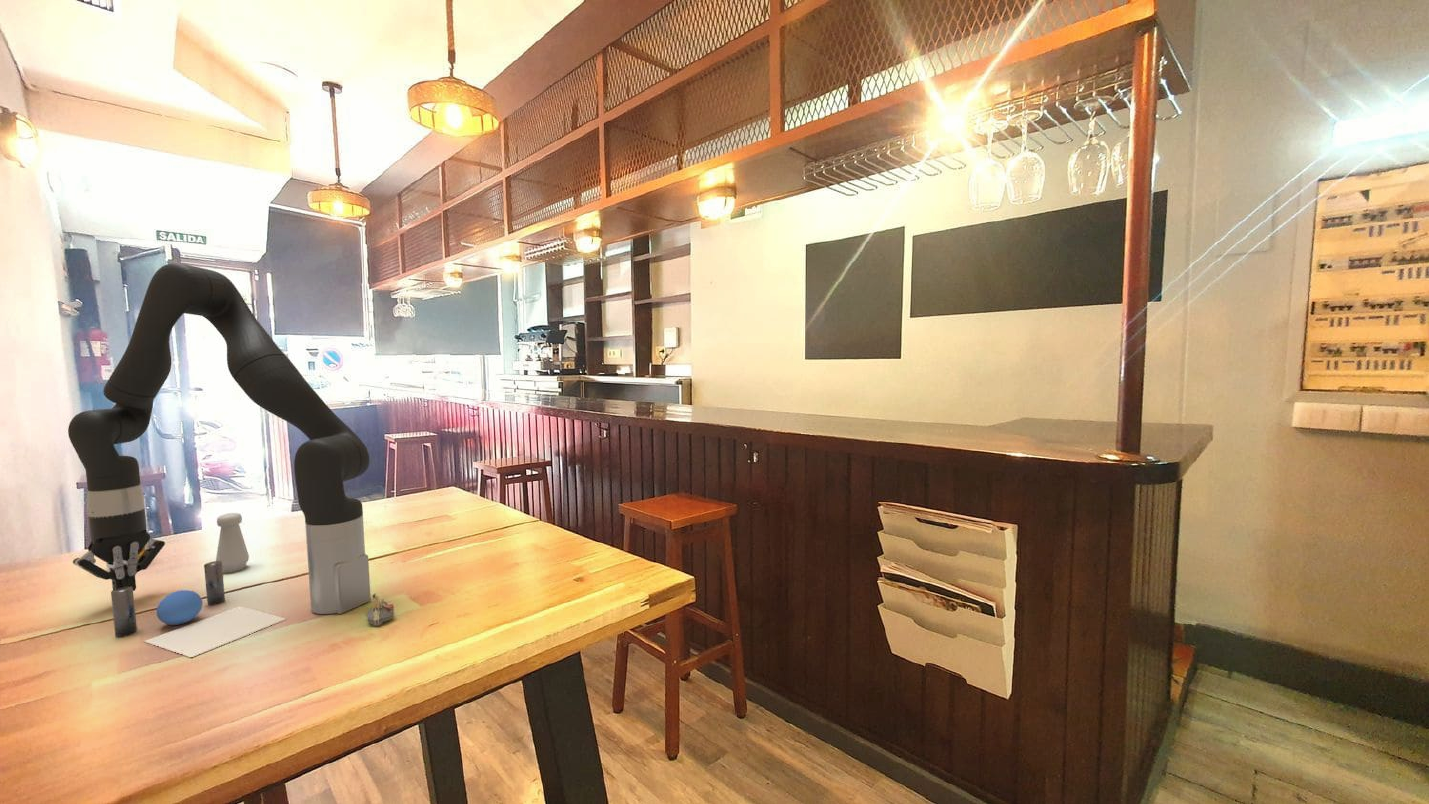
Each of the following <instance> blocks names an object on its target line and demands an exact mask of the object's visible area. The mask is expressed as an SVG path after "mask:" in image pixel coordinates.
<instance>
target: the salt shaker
mask: <svg viewBox="0 0 1429 804" xmlns="http://www.w3.org/2000/svg"><path fill="white" fill-rule="evenodd" d="M242 517H243V516H242V514H240V513H238V512H230V513H225V514H221V515H219V516H218V517H217V518H216V525H217V526H218V527H220V529H219V530H220V532H219V538H218V544H217V551H216V558H215V561H222V569H223V574H230V573H231V574H232V573H236V572H239V571H243V570H244V569H245V568H246V566H247V564H248V561H249V559H250V554H249V552H248V549H247V546H246V542H245V539H244V537H243V536H244V535H243V533H242V530H241V525H240V524H241V523H242V521H243V518H242Z"/></svg>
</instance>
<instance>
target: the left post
mask: <svg viewBox="0 0 1429 804" xmlns="http://www.w3.org/2000/svg"><path fill="white" fill-rule="evenodd" d="M110 595H111V605H112V616H113V617H112V618H113V627H114V633H115V634H114V636H115V637H116V638H124V637H128V636H131V635H134V634H135V633H137V631H138V629H137V628H138V626H137V618H136V608H135V599H134V598H135V597H134V596H135V595H134V591H133V587H122V588H118V589H115V590H113V589H112V590H111V591H110Z"/></svg>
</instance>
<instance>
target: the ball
mask: <svg viewBox="0 0 1429 804" xmlns="http://www.w3.org/2000/svg"><path fill="white" fill-rule="evenodd" d="M202 608H203V599H202V596H200V594H198V593H197V592H195V591H193V590H188V589H183V590H177V591H174V592H171V593H170V594H168V595H166V596H165V597H164V598H162V599H161V601H160V602H158V605H157V607H156V616H157V619H158V620H159V621H160V622H162V623H163V624H165V625H168V626H179V625H183V624H186V623H188V622H190V621H192V620H193V619H194V618H196V617H197V616H198V615H199V613H200V612H201V610H202Z"/></svg>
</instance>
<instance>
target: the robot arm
mask: <svg viewBox="0 0 1429 804" xmlns="http://www.w3.org/2000/svg"><path fill="white" fill-rule="evenodd" d="M184 314H186V315H187V314H188V315H195V316H201V317H203V318H204V319H206V320H207V321H208V322H209V323H211V325H212V326H213V327H214V328H215V329H216V331H218V333H219V334H220V335H221V337H222V338H223V339H224V341H225V345H226V363H227V368H228V371H229V373H230V375H231V377H232V378H233V380H234V381H235V382H236V383H237V385H238V386H239V387H240V388H241V389H242V391H243V392H244V394H245V395H246V396H247V397H248V398H249V399H250V400H251V401H252V402H253V403H254V404H256V405H257V406H259V407H261V408H262V409H264V410H265V411H267V412H269V413H270V414H272V415H273V416H276V417H278V418H279V419H282V420H284V422H287V423H288V424H290V425H293V426H294V427H295V428H296V429H298V430H300V431H301V433H303V434H304V435H305V436H306V437H307V438H308V440H307V441H305V442H304V443H302V444H301V445H300V446H299V447H298V448H297V450H296V452H295V454H294V462H293V468H294V469H293V471H294V478H295V480H294V481H295V486H296V493H297V501H298V507H299V508H300V510H301V512H302V513H303V515H304V516H303V517H304V523H305V536H306V537H305V538H306V551H307V553H306V554H307V568H308V569H307V571H308V580H309V583H308V584H309V593H310V594H309V596H310V608H311V609H310V610H311V612H312V613H313V614H318V615H331V614H338V615H339V614H344V613H346V612H349V611H350V610H352V609H356V608H358V607H360V606H361V605H364V604H367V603H369V602H371V601H372V600H371V599H372V598H371V597H372V596H371V582H370V565H369V563H370V562H369V555H368V554H366V549H365V548H366V546H365V531H364V528H365V527H364V511H363V503H362V501H361V500H359V499H357V498H353V497H348V496H347V494H346V493H345V492H346V491H345V486H344V482H347V481H350V480H354V479H356V478H358V477H360V476H362V475H364V474H365V473H366V472H367V471H368V468H369V466H370V463H371V462H370V460H371V459H370V453H369V451H368V448H367V446H366V445H365V443H364V442H363V441H362V440H361V438H360V437H359V436H358V435H357V434H356V433H355V432H354V431H353V430H352V429H351V428H350V427H349V426H348V425H347V424H346V423H345V422H343V420H341V418H340V417H339V416H337V415H336V414H335V413H334V411H333V410H332V409H331V408H330V407H329V406H328V405H327V404H326V403H325V402H324V400H323V399H322V398H321V397H320V396H319V394H318V393H317V392H316V391H315V389H314V388H313V387H312V386H311V385H310V384H309V382H307V380H306V379H305V378H304V377H303V375H302V374H301V373H300V371H299V369H298V368H297V367H296V366H295V364H294V363H293V362H292V361H291V360H290V358H289V357H288V356H287V355H286V354H285V353H284V352H283V351H282V349H281V348H280V347H279V346H278V344H276V342H275V341H274V340H273V338H272V337H271V336H270V335H269V333H268V332H267V331H266V329H265V328H264V327H263V326H262V324H261V323H260V322H259V321H258V319H257V318H256V317H255V315H254V313H253V312H252V310H251V309H250V307H249V306H248V303H246V301H245V299H244V297H243V296H242V294H241V292H239V290H238V288H237V287H236V285H235V284H234V283H233V282H232V281H231V279H229V278H228V277H227V276H225V275H224V274H222V273H220V272H218V271H215V270H213V269H208V268H204V267H198V266H194V265H190V264H185V263H179V262H171V263H167V264H164V265H162V266H161V267H160V268H158V269H157V271H156V272H154V274H153V276H152V277H151V279H150V281H149V284H148V286H147V289H146V292H145V295H144V297H143V301H142V304H141V306H140V310H139V312H138V315H137V319H136V322H135V325H134V328H133V331H132V334H131V337H130V340H129V343H128V345H127V347H126V348H125V351H124V353H123V354H122V357H121V358H120V360H119V362H118V363H117V365H116V366H115V368H114V370H113V371H112V373H111V375H110V376H109V378H108V380H107V382H106V383H105V386H104V387H103V395H104V397H105V398H106V399H107V400H109V401H110V402H111V403H114V404H115V405H114V406H113V407H112V408H104V409H103V408H102V409H100V408H99V409H90V410H84V411H81V412H78V413H77V414H75V415H74V417H72V418H71V421H70V422H69V425H68V428H67V429H68V430H67V433H68V438H69V441H70V443H71V445H72V447H73V449H74V451H75V453H76V455H77V456H78V459H79V461H80V462H81V464H82V465H83V468H84V470H85V476H86V486H87V498H86V507H87V508H86V513H87V517H88V525H89V535H90V544H89V545H88V548H87V552H86V553H85V554H83V555H82V556H80V557H76V558H74V559H73V560H72V564H73V565H75V566H77V567H79V568H80V569H82V570H83V571H86V572H87V573H90V574H91V575H93V576H95V577H96V578H98V579H102V580H111V585H112V591H113V590H115V589H118V588H122V587H133V592H134V591H136V590H137V585H136V584H137V583H136V582H137V581H136V575H137V573H138V572H141V571H143V570H145V571H146V570H147V569H148V567H149V566H150V564H151V563H153V561H154V560H155V558H156V557H157V556H158V554H159V553H160V552H161V550H162V549H163V548H164V546H165V544H166V542H165V541H164V540H159V539H155V538H151V534H150V533H149V532H148V530H147V518H146V510H145V509H146V507H145V497H144V496H145V495H144V492H143V489H142V488H143V487H142V484H141V473H140V467H139V465H140V464H139V462H138V460H137V458H136V457H133V456H131V455H119V452H118V451H117V449H116V448H115V445H118V444H126V443H130V442H133V441H135V440H137V439H139V438H140V437H142V436H143V435H144V433H146V431H147V430H148V428H149V426H150V421H151V416H152V411H153V406H154V400H155V398H156V397H157V395H158V394H159V392H160V390H161V389H162V388H163V385H164V384H165V382H166V380H167V379H168V377H169V375H170V373H171V368H172V353H171V347H170V344H171V343H170V337H171V333H172V331H173V328H174V327H175V325H176V324H177V322H178V321H179V319H180V318H181V317H182V316H183V315H184ZM144 547H145V549H146V550H145V551H144V552H143V554H142V555H141V556H140V557H139V559H138V555H139V554H140V552H141V551H142V550H143V548H144ZM95 557H96V558H98V559H99V560H102V561H103V562H105V564H106V567H107V568H108V571H107V570H105V569H103V568H102V567H100V566H98V565H97V564H96V561H97V560H96V558H95Z"/></svg>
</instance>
